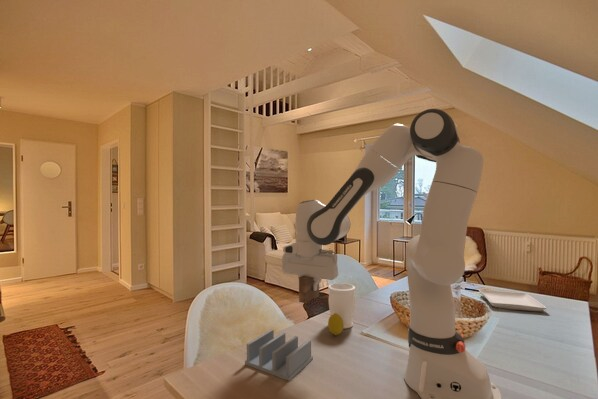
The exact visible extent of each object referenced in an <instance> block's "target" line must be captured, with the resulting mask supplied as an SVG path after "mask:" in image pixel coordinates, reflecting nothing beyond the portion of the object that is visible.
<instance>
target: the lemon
mask: <svg viewBox="0 0 598 399" xmlns="http://www.w3.org/2000/svg"><path fill="white" fill-rule="evenodd" d="M327 326H328V330H329V332H330V333H331V334H332V335H334V336H338V335H340V334H341V333H342V331H343V330H344V329H343V320H342V317H341V316H340V315H338V314H336V313H335V314H333V315H330V316H329V318H328V321H327Z"/></svg>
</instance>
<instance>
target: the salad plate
mask: <svg viewBox="0 0 598 399" xmlns="http://www.w3.org/2000/svg"><path fill="white" fill-rule="evenodd" d="M478 292H479V294H481V295H482V297H484V299H486V300H487V301H488V302H489V304H490V305H491V306H493V307H496V308H498V309H504V310H505V309H507V310H515V311H516V310H517V311H525V312H526V311H527V312H528V311H529V312H541V311H544V310H545V311H546V310H547V306H545V305H544V304H543V303H541V302H540V301H538V300H537V299H536V298H534V297H532V296H531V295H530V294H528V293H524V292H516V291H515V292H513V291H503V290H491V289H490V290H488V289H478Z"/></svg>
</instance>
